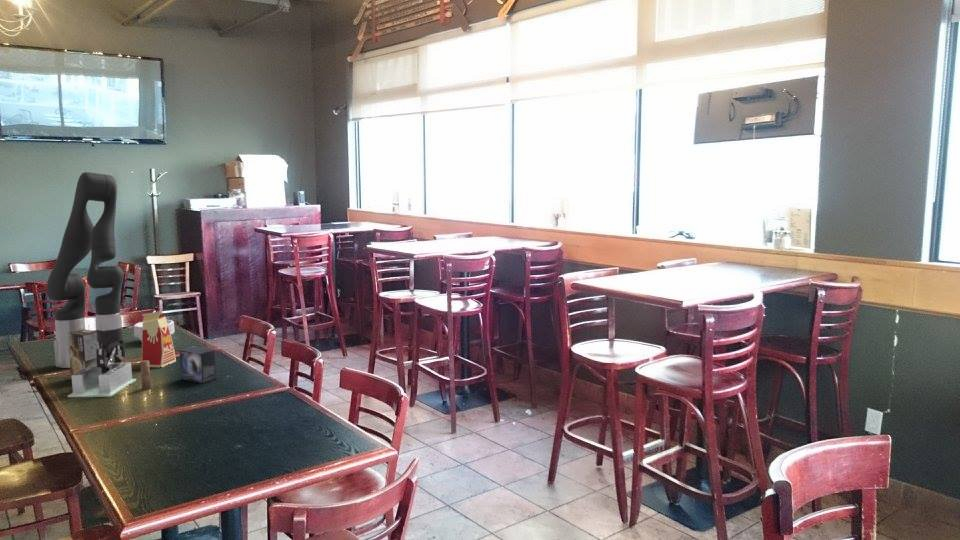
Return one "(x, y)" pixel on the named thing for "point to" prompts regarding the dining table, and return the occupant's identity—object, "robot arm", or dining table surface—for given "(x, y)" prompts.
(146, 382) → the stand
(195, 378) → the small box
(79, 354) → the coffee box
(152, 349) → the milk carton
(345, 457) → the dining table surface
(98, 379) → the c link
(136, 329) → the paper bowls
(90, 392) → the mat
